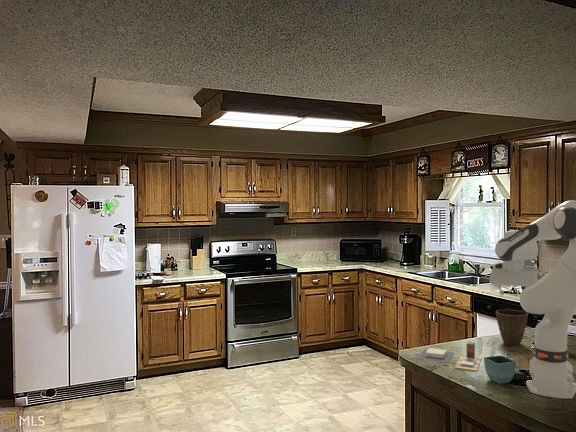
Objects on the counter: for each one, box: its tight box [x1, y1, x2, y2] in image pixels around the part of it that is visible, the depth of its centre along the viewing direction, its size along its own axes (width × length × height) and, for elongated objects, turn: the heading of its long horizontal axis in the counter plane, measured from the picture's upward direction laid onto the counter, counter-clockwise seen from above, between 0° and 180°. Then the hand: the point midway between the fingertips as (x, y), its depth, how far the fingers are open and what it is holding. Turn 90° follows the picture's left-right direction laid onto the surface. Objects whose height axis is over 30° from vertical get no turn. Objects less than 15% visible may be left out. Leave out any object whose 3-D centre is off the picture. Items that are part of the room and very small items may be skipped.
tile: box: [426, 347, 448, 359], centre depth 231 cm, size 2×8×8 cm
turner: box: [461, 341, 476, 367], centre depth 220 cm, size 15×5×7 cm, turn 153°
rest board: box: [454, 354, 483, 373], centre depth 219 cm, size 20×9×1 cm, turn 153°
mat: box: [417, 348, 455, 363], centre depth 231 cm, size 16×14×1 cm
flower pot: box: [483, 355, 517, 385], centre depth 197 cm, size 9×9×9 cm
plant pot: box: [495, 309, 529, 347], centre depth 251 cm, size 15×15×16 cm
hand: (513, 295), depth 227 cm, fingers open, 8 cm apart
